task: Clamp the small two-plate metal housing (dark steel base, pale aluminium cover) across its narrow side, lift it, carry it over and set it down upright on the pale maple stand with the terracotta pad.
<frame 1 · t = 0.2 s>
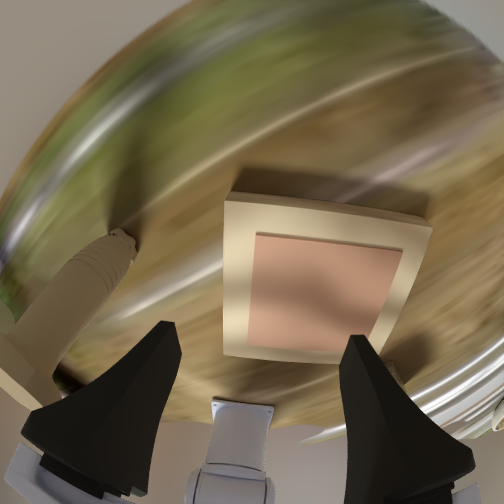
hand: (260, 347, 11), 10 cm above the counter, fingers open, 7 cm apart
handle: (123, 243, 21), on the counter
stand: (316, 287, 21), on the counter
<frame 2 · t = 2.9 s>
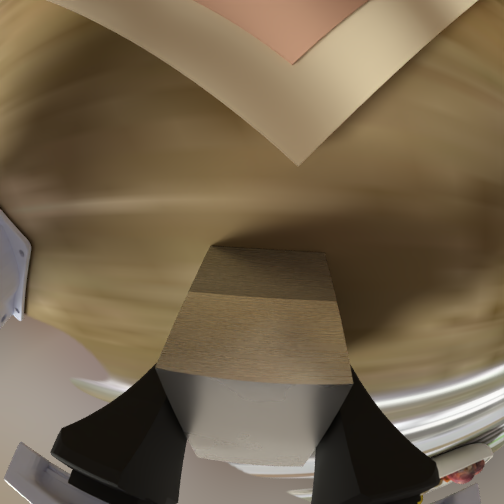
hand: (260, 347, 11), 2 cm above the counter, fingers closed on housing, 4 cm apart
lemon: (412, 487, 43), on the counter
bowl: (421, 469, 32), on the counter
housing: (263, 316, 12), on the counter, touching gripper
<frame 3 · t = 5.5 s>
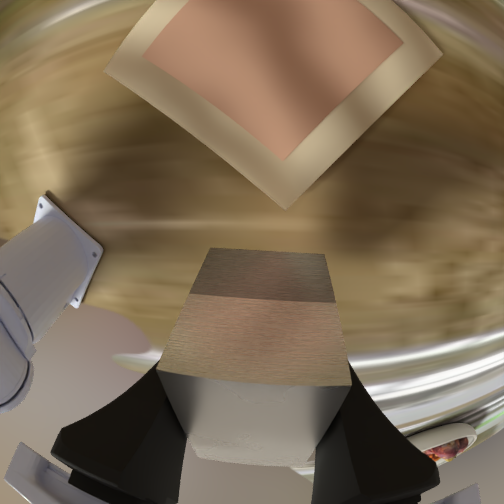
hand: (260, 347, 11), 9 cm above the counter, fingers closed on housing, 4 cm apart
stand: (273, 42, 12), on the counter
bowl: (411, 448, 39), on the counter
housing: (263, 317, 12), point 7 cm above the counter, touching gripper
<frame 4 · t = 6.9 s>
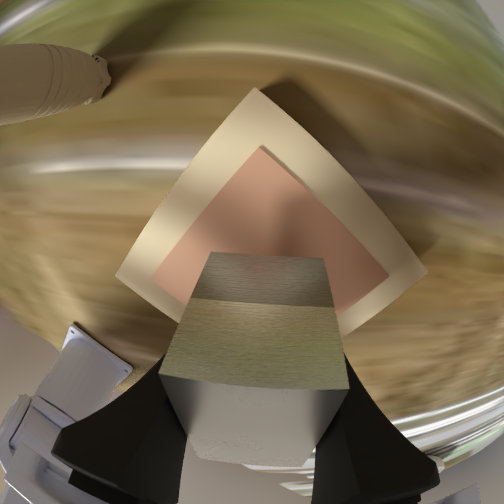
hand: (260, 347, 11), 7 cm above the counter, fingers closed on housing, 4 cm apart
handle: (95, 80, 12), on the counter
stand: (268, 259, 17), on the counter
housing: (263, 320, 13), point 5 cm above the counter, touching gripper
when the fingers open (6 cm above the counter, at t = 8.1 s): housing drops 1 cm, resting on stand.
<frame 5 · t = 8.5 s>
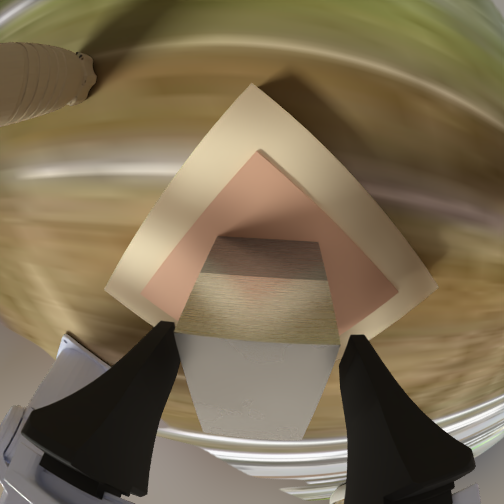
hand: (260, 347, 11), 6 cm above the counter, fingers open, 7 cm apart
handle: (81, 79, 11), on the counter
stand: (267, 272, 16), on the counter
bowl: (387, 476, 43), on the counter
housing: (264, 301, 14), point 2 cm above the counter, touching stand
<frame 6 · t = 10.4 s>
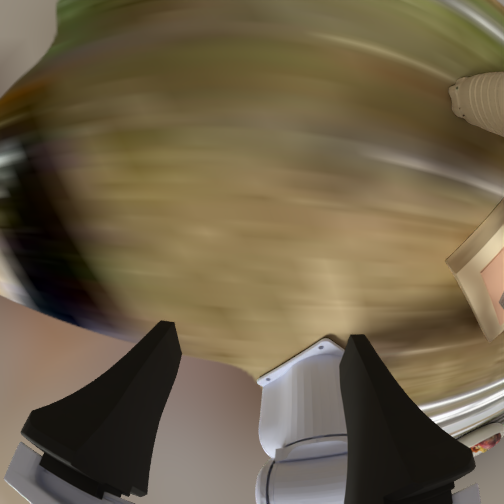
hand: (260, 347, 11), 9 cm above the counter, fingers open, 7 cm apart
handle: (461, 100, 12), on the counter
bowl: (458, 444, 44), on the counter
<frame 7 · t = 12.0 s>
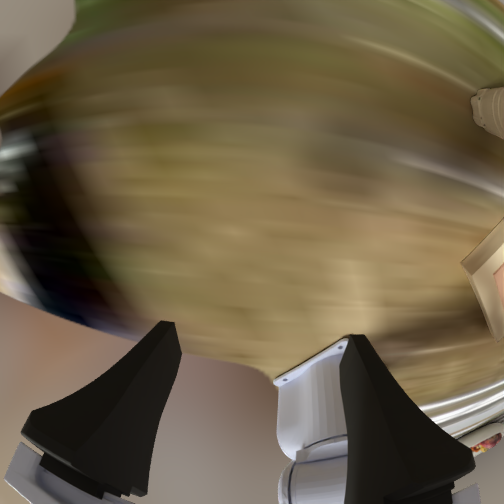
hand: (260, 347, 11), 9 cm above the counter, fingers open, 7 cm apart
handle: (481, 110, 12), on the counter
bowl: (459, 444, 44), on the counter
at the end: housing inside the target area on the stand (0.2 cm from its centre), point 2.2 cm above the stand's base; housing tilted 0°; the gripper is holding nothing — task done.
